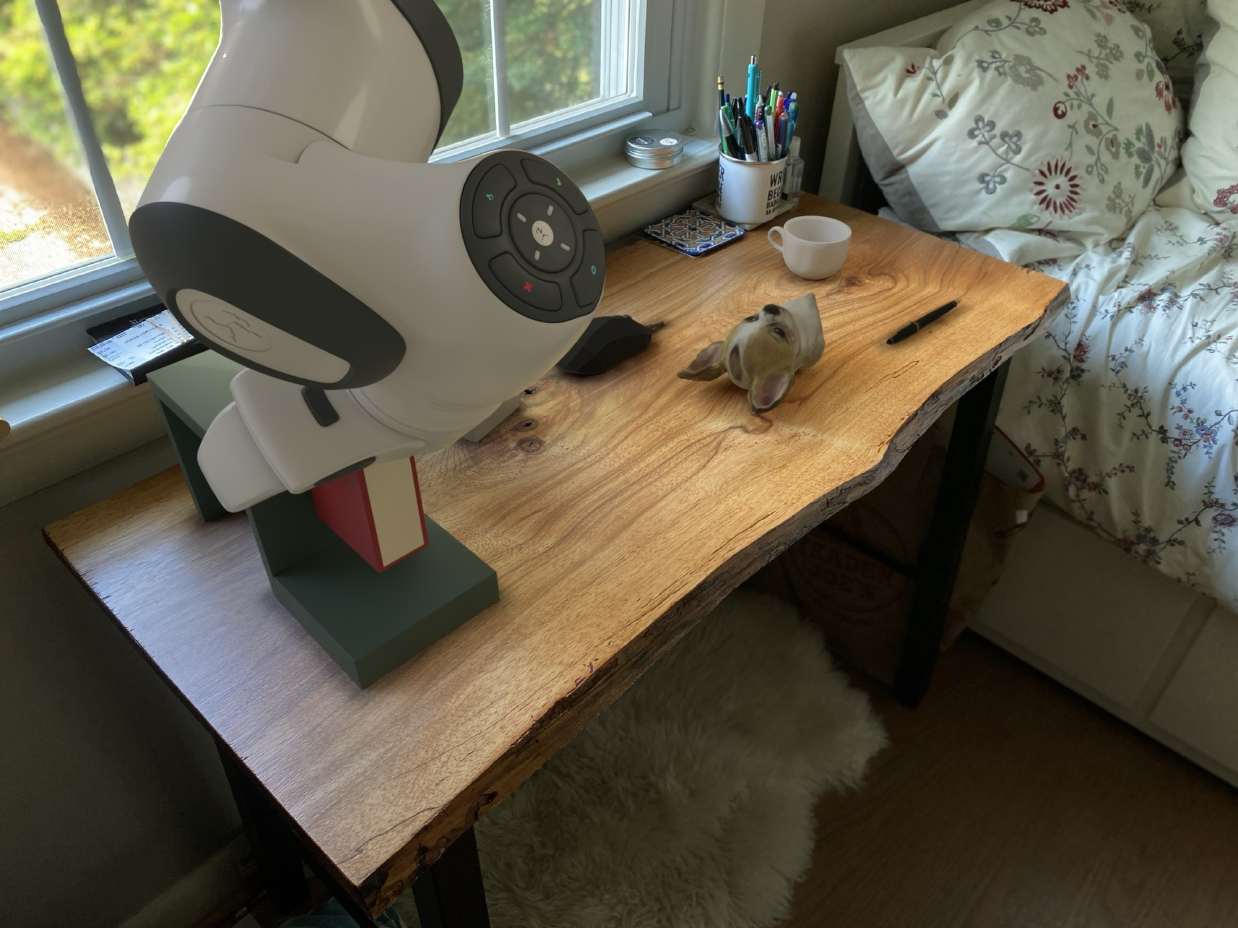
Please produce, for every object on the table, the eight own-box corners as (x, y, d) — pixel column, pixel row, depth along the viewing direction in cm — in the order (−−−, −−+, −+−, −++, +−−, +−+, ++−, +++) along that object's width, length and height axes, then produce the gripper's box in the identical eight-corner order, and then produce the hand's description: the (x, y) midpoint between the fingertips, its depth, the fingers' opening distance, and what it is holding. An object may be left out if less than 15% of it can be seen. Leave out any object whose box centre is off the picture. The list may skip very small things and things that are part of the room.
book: (379, 574, 62) (342, 398, 53) (317, 516, 66) (273, 345, 58) (429, 545, 64) (401, 372, 55) (366, 491, 68) (330, 323, 60)
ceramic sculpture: (860, 295, 88) (762, 364, 81) (850, 371, 94) (757, 441, 86) (771, 261, 94) (671, 321, 87) (766, 333, 100) (672, 396, 92)
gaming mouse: (683, 335, 100) (685, 302, 98) (578, 387, 92) (577, 352, 90) (643, 313, 104) (644, 281, 101) (538, 361, 96) (536, 328, 94)
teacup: (854, 267, 113) (861, 225, 109) (829, 292, 108) (836, 249, 104) (779, 247, 117) (783, 206, 113) (751, 271, 112) (755, 229, 108)
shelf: (361, 690, 63) (320, 540, 55) (198, 515, 77) (145, 374, 69) (500, 599, 70) (483, 452, 61) (326, 454, 84) (292, 317, 75)
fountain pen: (956, 302, 106) (959, 290, 105) (965, 306, 105) (968, 294, 104) (880, 346, 98) (882, 334, 97) (889, 351, 98) (892, 338, 97)
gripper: (535, 254, 55) (453, 338, 66) (199, 388, 43) (170, 460, 55) (588, 349, 55) (497, 415, 66) (267, 506, 44) (225, 553, 55)
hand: (347, 437), depth 61 cm, fingers closed on book, 4 cm apart
